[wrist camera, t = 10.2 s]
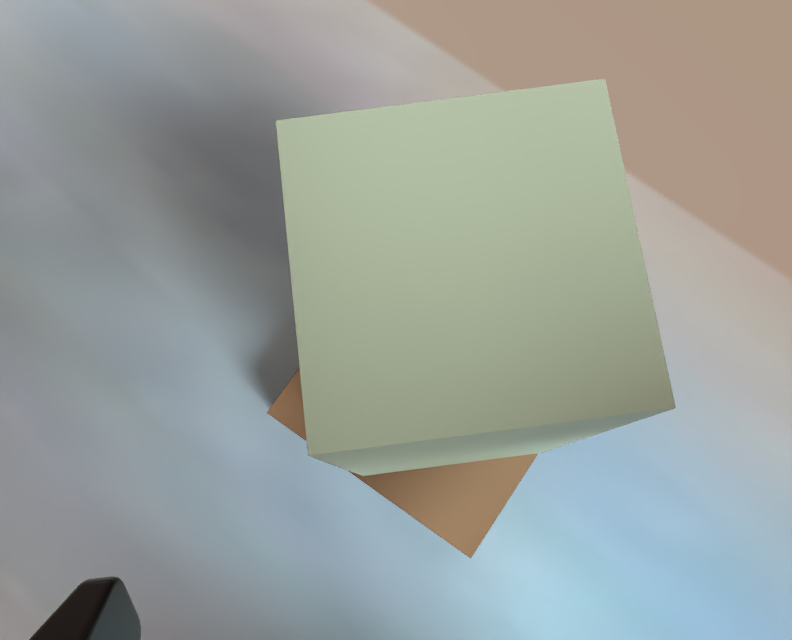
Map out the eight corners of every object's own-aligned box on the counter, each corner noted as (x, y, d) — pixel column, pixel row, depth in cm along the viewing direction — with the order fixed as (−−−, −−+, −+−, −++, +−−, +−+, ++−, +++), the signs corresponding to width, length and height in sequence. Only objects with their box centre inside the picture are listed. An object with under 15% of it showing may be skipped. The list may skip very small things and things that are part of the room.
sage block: (540, 453, 21) (675, 408, 10) (363, 476, 21) (308, 455, 10) (511, 282, 22) (604, 79, 11) (343, 304, 22) (275, 120, 11)
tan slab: (586, 364, 24) (605, 349, 21) (466, 551, 23) (470, 558, 20) (406, 248, 25) (404, 222, 22) (283, 421, 24) (266, 412, 21)
